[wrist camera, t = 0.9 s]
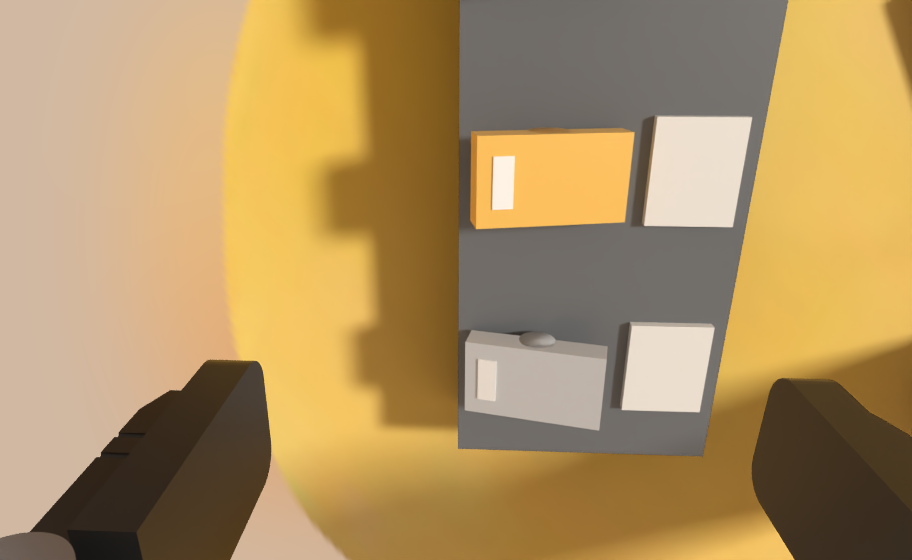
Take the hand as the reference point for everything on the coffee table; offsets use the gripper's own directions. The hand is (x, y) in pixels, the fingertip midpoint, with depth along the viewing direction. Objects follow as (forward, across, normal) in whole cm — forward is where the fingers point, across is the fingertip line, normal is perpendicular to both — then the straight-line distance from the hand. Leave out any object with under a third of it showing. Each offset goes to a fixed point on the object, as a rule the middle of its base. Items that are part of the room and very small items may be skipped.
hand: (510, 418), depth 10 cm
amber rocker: (+15, -2, -1) cm, 16 cm away
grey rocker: (+15, -2, +8) cm, 18 cm away
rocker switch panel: (+20, -5, -1) cm, 21 cm away
